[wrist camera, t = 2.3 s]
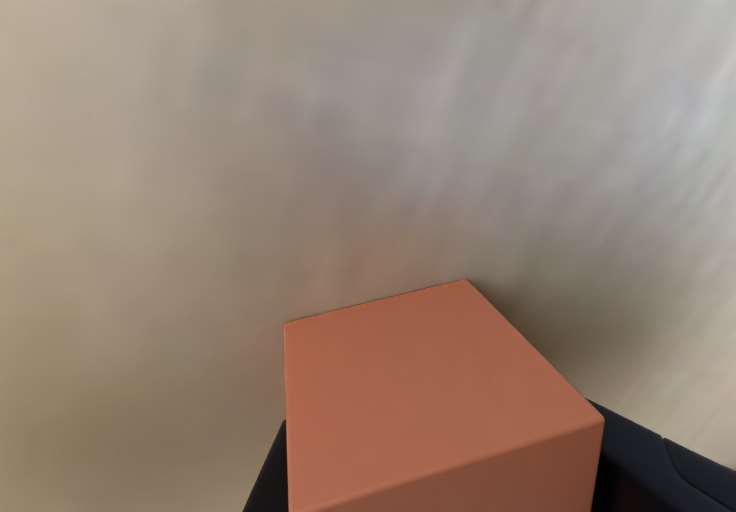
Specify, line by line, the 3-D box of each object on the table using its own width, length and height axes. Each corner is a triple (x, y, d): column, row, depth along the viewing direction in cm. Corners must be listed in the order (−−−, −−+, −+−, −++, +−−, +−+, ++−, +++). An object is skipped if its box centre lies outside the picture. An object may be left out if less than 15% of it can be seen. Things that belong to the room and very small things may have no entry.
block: (321, 455, 11) (348, 676, 7) (282, 321, 9) (287, 518, 5) (472, 411, 11) (580, 589, 7) (466, 276, 9) (608, 418, 5)
